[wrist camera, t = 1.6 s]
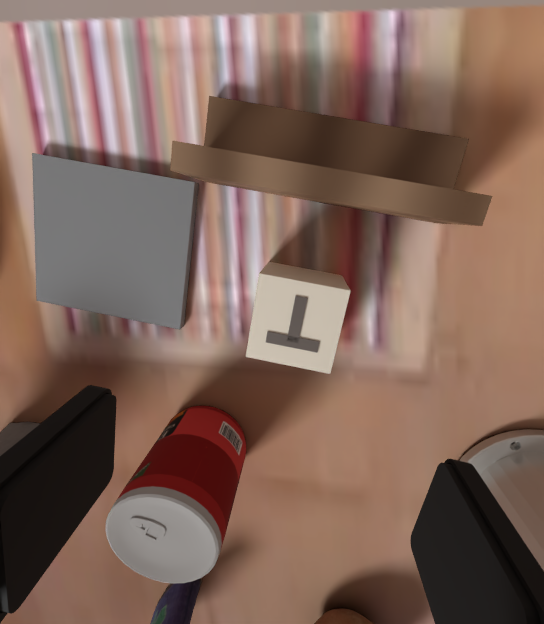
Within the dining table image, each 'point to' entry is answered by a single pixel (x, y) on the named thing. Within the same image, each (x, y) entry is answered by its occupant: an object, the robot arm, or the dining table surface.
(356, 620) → the onion
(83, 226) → the slate mat
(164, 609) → the flask
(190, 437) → the canned food
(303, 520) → the dining table surface
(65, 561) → the dining table surface
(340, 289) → the marked cube
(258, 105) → the walnut screen
